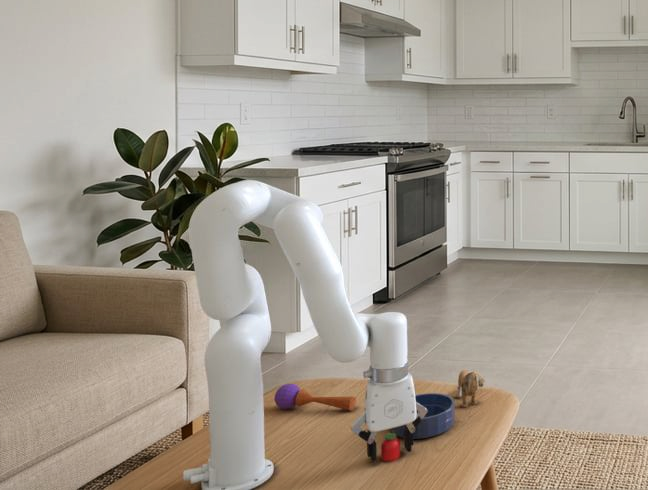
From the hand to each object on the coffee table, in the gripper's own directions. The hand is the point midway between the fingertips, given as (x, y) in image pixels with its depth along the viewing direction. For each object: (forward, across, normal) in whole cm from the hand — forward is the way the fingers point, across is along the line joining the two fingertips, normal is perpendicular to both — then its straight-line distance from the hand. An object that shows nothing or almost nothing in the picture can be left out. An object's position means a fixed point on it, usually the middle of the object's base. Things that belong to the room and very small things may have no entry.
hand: (390, 453), depth 143 cm
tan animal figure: (+1, +24, +18) cm, 30 cm away
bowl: (+1, +10, +10) cm, 14 cm away
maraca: (+1, -10, +35) cm, 36 cm away
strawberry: (+1, 0, 0) cm, 1 cm away
